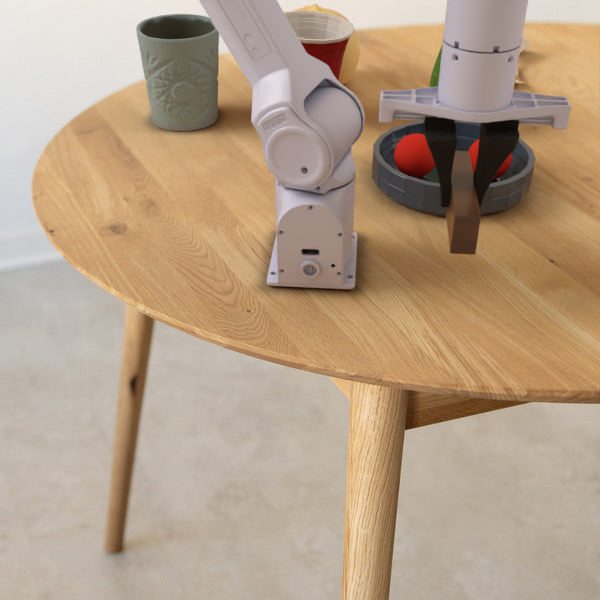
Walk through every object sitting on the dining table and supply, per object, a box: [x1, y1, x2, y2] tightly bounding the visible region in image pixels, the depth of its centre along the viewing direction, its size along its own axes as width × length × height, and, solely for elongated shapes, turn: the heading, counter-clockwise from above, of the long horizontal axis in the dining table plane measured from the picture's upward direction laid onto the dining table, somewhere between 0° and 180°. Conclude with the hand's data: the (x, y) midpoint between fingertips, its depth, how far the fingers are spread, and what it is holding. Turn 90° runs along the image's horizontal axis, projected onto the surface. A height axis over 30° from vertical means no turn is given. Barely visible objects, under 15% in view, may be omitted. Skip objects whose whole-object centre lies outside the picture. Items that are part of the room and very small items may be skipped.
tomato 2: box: [469, 139, 512, 180], centre depth 86 cm, size 5×5×5 cm
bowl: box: [371, 120, 537, 216], centre depth 86 cm, size 17×17×4 cm
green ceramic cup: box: [135, 13, 220, 132], centre depth 98 cm, size 10×10×12 cm
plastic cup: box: [283, 10, 356, 80], centre depth 100 cm, size 11×11×12 cm
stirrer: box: [515, 36, 533, 84], centre depth 115 cm, size 20×4×5 cm
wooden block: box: [445, 151, 482, 256], centre depth 66 cm, size 12×2×3 cm, turn 174°
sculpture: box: [292, 3, 360, 86], centre depth 109 cm, size 11×12×11 cm
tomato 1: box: [394, 133, 435, 178], centre depth 86 cm, size 5×5×5 cm
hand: (460, 202), depth 66 cm, fingers closed on wooden block, 2 cm apart
